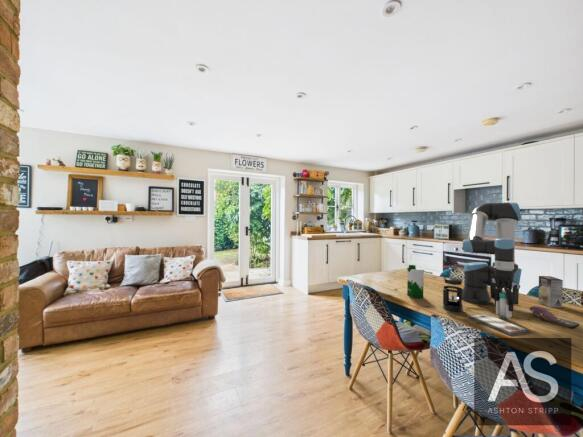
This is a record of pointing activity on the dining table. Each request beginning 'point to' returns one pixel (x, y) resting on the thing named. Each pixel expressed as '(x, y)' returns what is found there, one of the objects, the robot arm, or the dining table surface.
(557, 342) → the dining table surface
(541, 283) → the coffee box
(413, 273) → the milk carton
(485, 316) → the tablet
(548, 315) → the purple oval lump
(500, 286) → the robot arm
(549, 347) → the dining table surface
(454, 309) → the black lantern
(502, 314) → the marker
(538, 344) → the dining table surface
